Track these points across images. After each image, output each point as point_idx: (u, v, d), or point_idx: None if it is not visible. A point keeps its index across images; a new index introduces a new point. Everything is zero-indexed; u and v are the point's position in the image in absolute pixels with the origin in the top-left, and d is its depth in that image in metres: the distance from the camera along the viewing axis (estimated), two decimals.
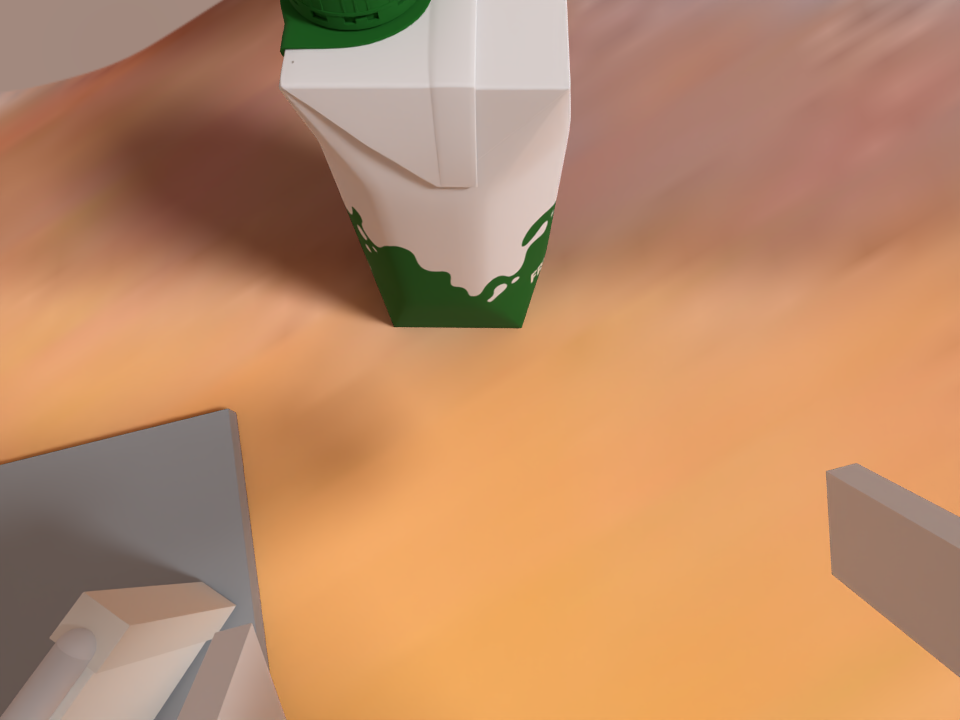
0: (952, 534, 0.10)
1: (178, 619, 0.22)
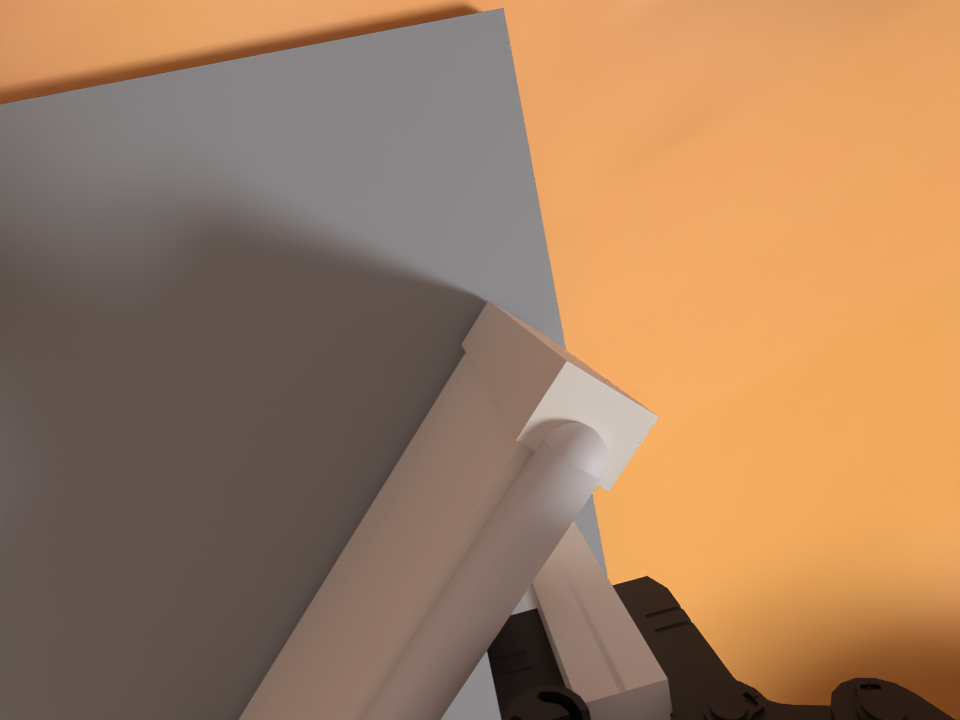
0: (566, 554, 0.12)
1: None
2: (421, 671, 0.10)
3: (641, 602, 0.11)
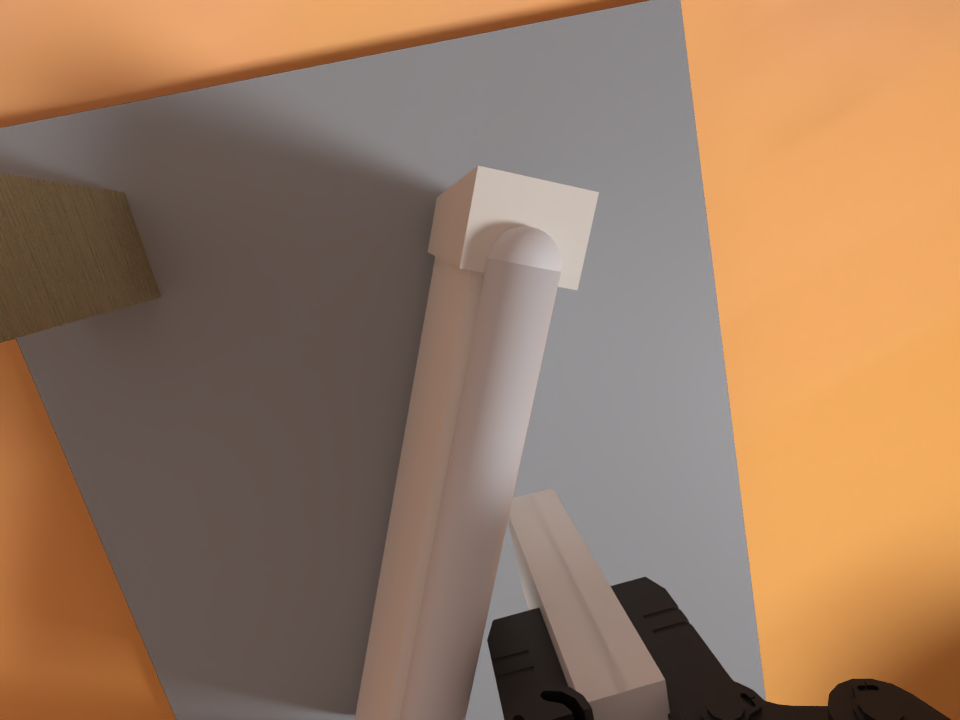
0: (564, 555, 0.12)
1: None
2: (453, 530, 0.10)
3: (639, 603, 0.11)
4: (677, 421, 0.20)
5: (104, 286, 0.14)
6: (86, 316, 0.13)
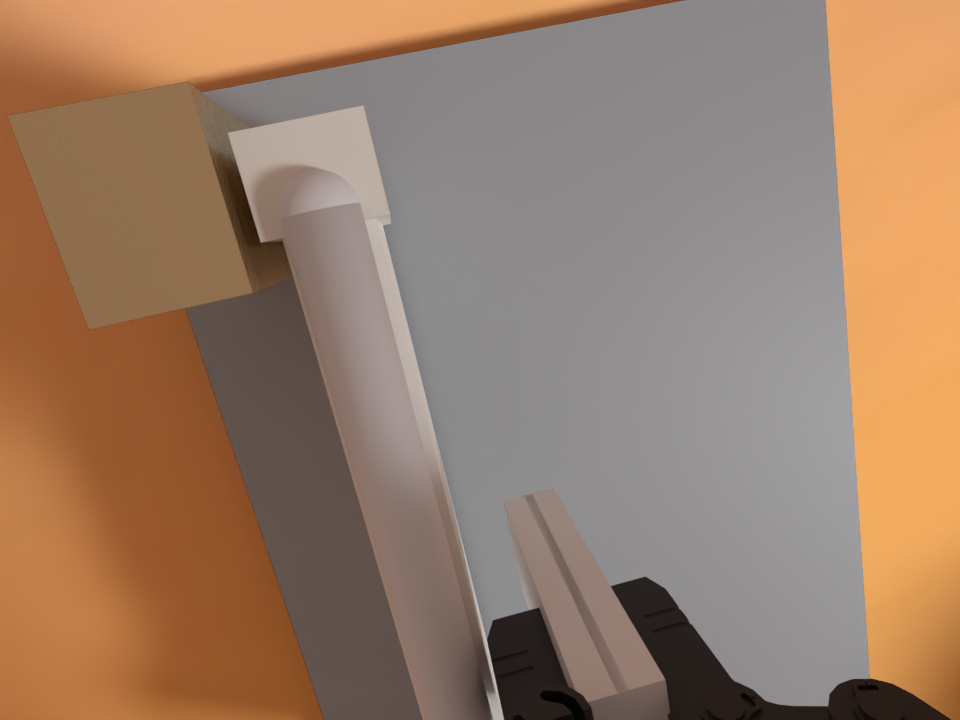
0: (564, 554, 0.12)
1: None
2: (370, 495, 0.09)
3: (639, 603, 0.11)
4: (799, 393, 0.21)
5: None
6: None
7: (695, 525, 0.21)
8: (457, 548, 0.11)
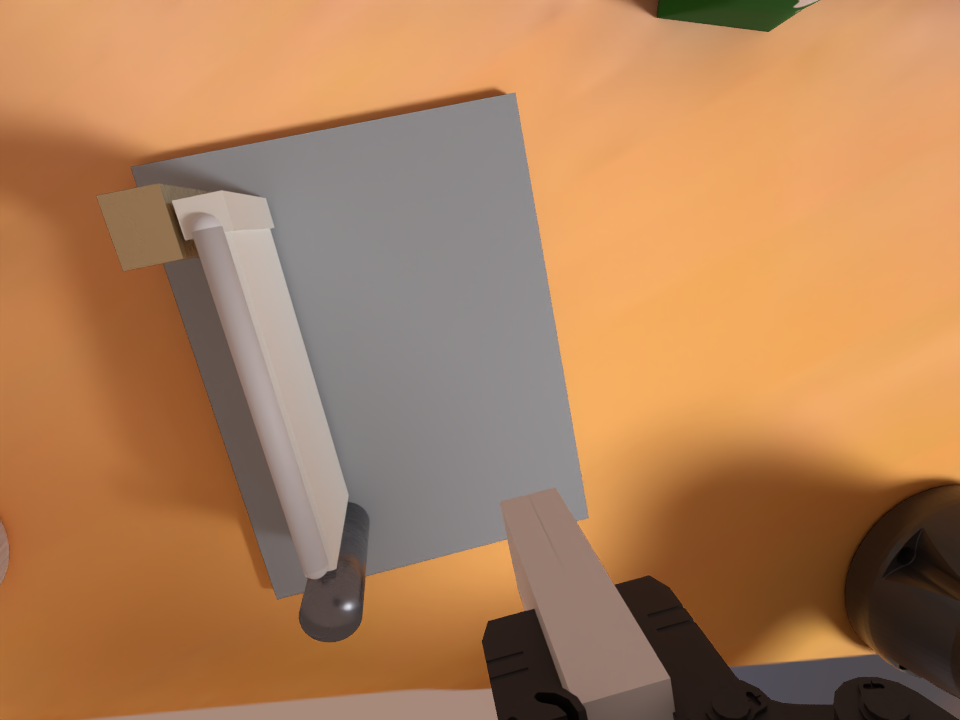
0: (568, 554, 0.12)
1: (243, 197, 0.27)
2: (228, 337, 0.25)
3: (643, 602, 0.11)
4: (523, 327, 0.36)
5: None
6: None
7: (465, 404, 0.37)
8: (273, 368, 0.26)
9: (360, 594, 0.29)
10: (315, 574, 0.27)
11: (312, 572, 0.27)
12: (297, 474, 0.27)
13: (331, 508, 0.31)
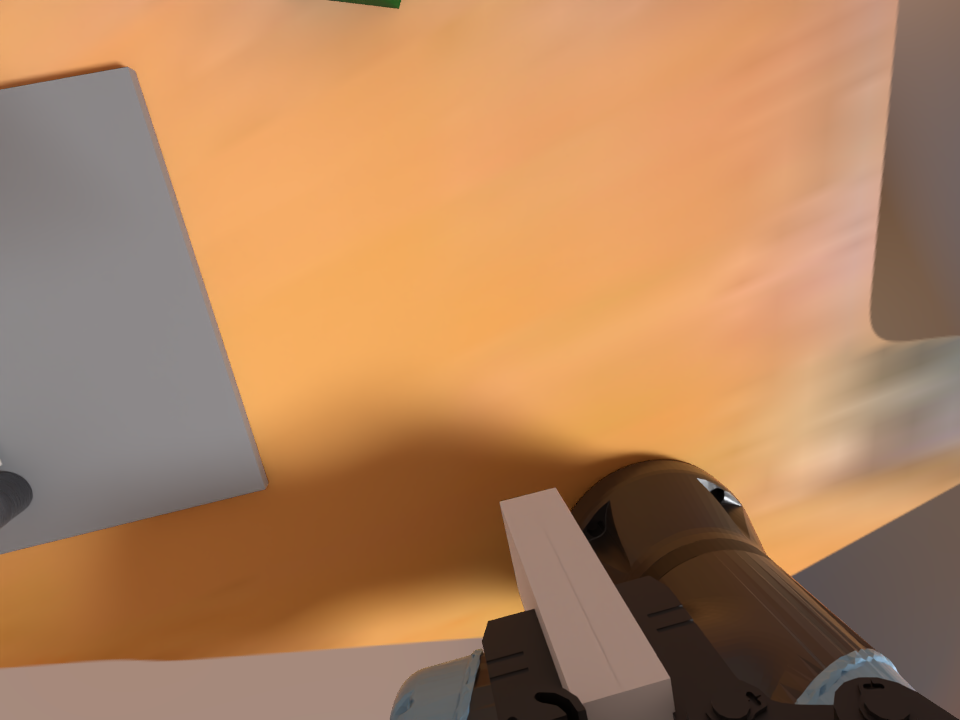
0: (568, 554, 0.12)
1: None
2: None
3: (643, 602, 0.11)
4: (169, 299, 0.37)
5: None
6: None
7: (118, 375, 0.37)
8: None
9: None
10: None
11: None
12: None
13: None
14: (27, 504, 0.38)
